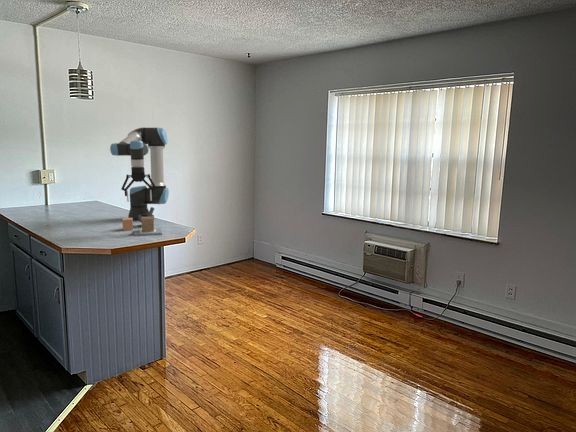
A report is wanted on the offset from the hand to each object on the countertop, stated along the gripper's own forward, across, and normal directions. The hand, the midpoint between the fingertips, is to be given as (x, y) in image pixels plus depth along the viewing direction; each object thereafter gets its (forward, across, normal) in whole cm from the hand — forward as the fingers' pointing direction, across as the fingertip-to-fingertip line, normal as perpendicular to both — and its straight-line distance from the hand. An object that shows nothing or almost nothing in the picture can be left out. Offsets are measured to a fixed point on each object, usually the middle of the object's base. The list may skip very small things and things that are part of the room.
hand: (139, 201), depth 273 cm
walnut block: (+18, +4, -6) cm, 19 cm away
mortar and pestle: (+20, +4, +18) cm, 27 cm away
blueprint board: (+19, +4, -6) cm, 20 cm away
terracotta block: (+19, -8, +8) cm, 22 cm away
